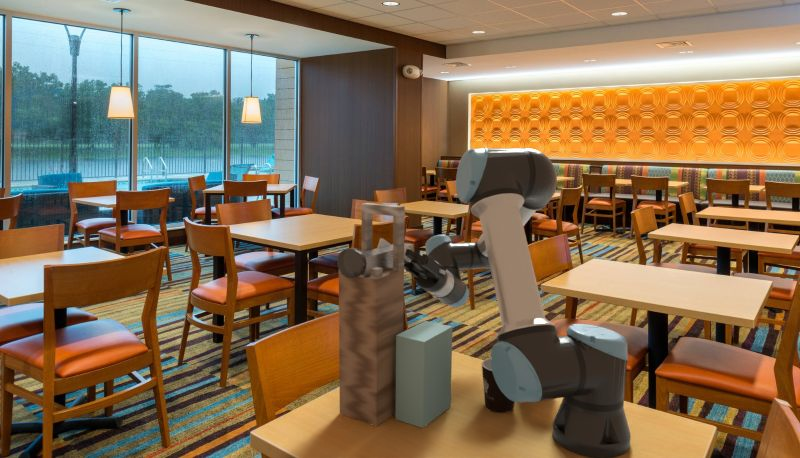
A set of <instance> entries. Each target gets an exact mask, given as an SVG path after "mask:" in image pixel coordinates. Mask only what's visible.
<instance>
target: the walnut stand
mask: <svg viewBox="0 0 800 458" xmlns="http://www.w3.org/2000/svg"><path fill="white" fill-rule="evenodd" d="M405 207H406V206H404V205H396V204H383V203H375V202H374V203H372V202H364V203H361V251H362V252H365V251H369V250H372V249H373V215H379V216H380V215H381V216H389V217H390V216H391V217H393V218H392V219H393V226H392V227H393V231H392V233H393V234H392V237H393V238H392V239H393V240H392V244H393V268H391V269H388V270H385V271H383V268H379V267H375V268H372V269H371V275H369V276H366V277H359V276H358V277H355V278H347V277H345V276H343V275H342V274H341V272H340V270H339V269H338V323H339V324H338V331H339V332H338V333H339V335H338V338H339V339H338V341H339V342H338V344H339V345H338V347H339V348H338V352H339V353H338V355H339V356H338V358H339V359H338V361H339V363H338V365H339V366H338V367H339V369H338V370H339V372H338V373H339V415H343V416H346V417H347V418H348V417H349V418H351V419H355V420H357V421H360V422H363V423H366V424H369V425H371V426H375V427H377V426H380V424H382V423H384V422H385V421H387V419H389V418H391V417H392V416H395V414H396V335H398V334H400V333H402V332H404V305H405V304H404V299H405V297H404V294H405V292H404V289H405V287H404V286H405V269H404V243H405V216H406V215H405V212H406V211H405V209H406V208H405Z"/></svg>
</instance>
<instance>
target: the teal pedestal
mask: <svg viewBox="0 0 800 458" xmlns="http://www.w3.org/2000/svg"><path fill="white" fill-rule="evenodd" d="M452 355H453V326H452V325H447V324H442V323H438V322H433V321H427V320H425V321H422V322H420V323H418V324H416V325H414V326H413V327H410V328H409V329H406V330H405V331H404V330H403V332H402V333H400V334H398V335H396V413H395V414H394V416H395V420H398V421H400V422H404V423H407V424H409V425H413V426H416V427H419V428H422V429H424V428H425V427H427V425H429V424H430V423H432V422H433V421H434V420H435V419H436V418H437V417H439V416H441V415H442V414H443V413H444V412H445V411H447V410H449V408H451V405H452V404H451V403H452V402H451V400H452V397H451V396H452V395H451V394H452V360H453V359H452V358H453V356H452Z"/></svg>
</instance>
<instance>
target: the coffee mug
mask: <svg viewBox="0 0 800 458" xmlns="http://www.w3.org/2000/svg"><path fill="white" fill-rule="evenodd" d="M491 359H492V358H491V357H489V358H486V359H484V360H483V361H482V362H481V371H482V372H481V373H482V383H483V394H484V395H483V396H484V406H485V408H486V410H487V409H488V410H489V411H491V412H494V413H498V414H499V413H500V414H501V413H502V414H505V413H510V412H511V411H513V410H514V407H515V402H514V401H511V400H510V399H508V398H507V397H506V396H505V395H504V394H503V393H502V392H501V390H500V389H499V387H498V385H497V383H496V381H495V378H494V375H493V372H492V368H491Z"/></svg>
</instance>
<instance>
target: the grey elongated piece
mask: <svg viewBox="0 0 800 458" xmlns="http://www.w3.org/2000/svg"><path fill="white" fill-rule="evenodd" d="M390 244H391V243H390ZM404 244H405V245H407V246H408V247H409V248H411V249H412V250H413V251H414V244H413V243H408V242H407V243H406V242H404ZM411 262H412V260H411ZM336 263H337V267H338V271H339V270H340V272H341V274H342V275H343V276H345V277H347V278H355V277H358V276H359V277H366V276H369V275H371V269H372V268H375V267H379V268H383V271H385V270H388V269H391V268H393V243H392V244H391V245H388V246H384V247H380V248H377V247H376V248H372V250H369V251H365V252H362V249H361V250H360V249H359V248H357V247H350V248H346V249H343V250H342V251H340V253H339V254H338V257H337V259H336ZM406 263H409V262H408V261H406V260H405V259H404V264H406Z"/></svg>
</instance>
